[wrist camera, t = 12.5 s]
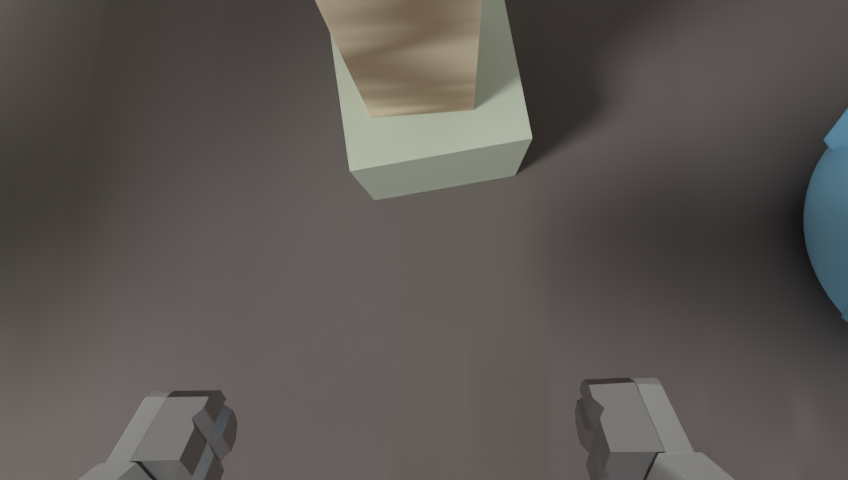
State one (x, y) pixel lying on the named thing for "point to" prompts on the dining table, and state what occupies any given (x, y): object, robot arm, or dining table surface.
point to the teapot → (830, 216)
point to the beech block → (408, 52)
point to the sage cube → (442, 126)
